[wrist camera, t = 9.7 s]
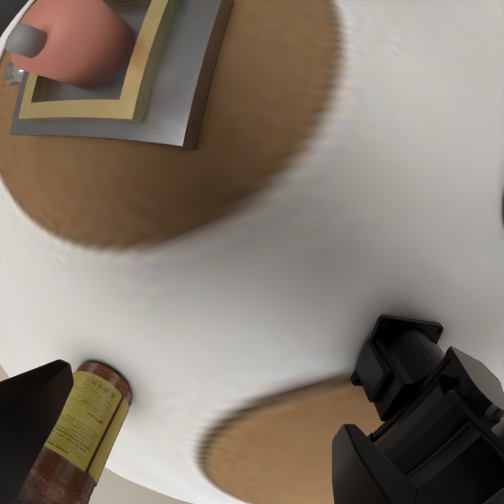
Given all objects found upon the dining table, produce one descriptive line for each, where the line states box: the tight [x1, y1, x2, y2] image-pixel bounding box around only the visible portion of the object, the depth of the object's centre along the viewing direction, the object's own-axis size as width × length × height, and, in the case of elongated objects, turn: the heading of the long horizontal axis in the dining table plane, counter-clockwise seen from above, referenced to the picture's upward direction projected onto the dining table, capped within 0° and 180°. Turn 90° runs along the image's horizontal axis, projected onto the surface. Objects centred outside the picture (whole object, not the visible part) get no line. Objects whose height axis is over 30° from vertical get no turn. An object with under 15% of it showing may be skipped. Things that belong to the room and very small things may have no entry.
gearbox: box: [6, 0, 233, 149], centre depth 13 cm, size 17×11×4 cm, turn 78°
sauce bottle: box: [15, 362, 131, 504], centre depth 13 cm, size 6×6×20 cm
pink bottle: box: [5, 0, 134, 89], centre depth 9 cm, size 5×5×7 cm
